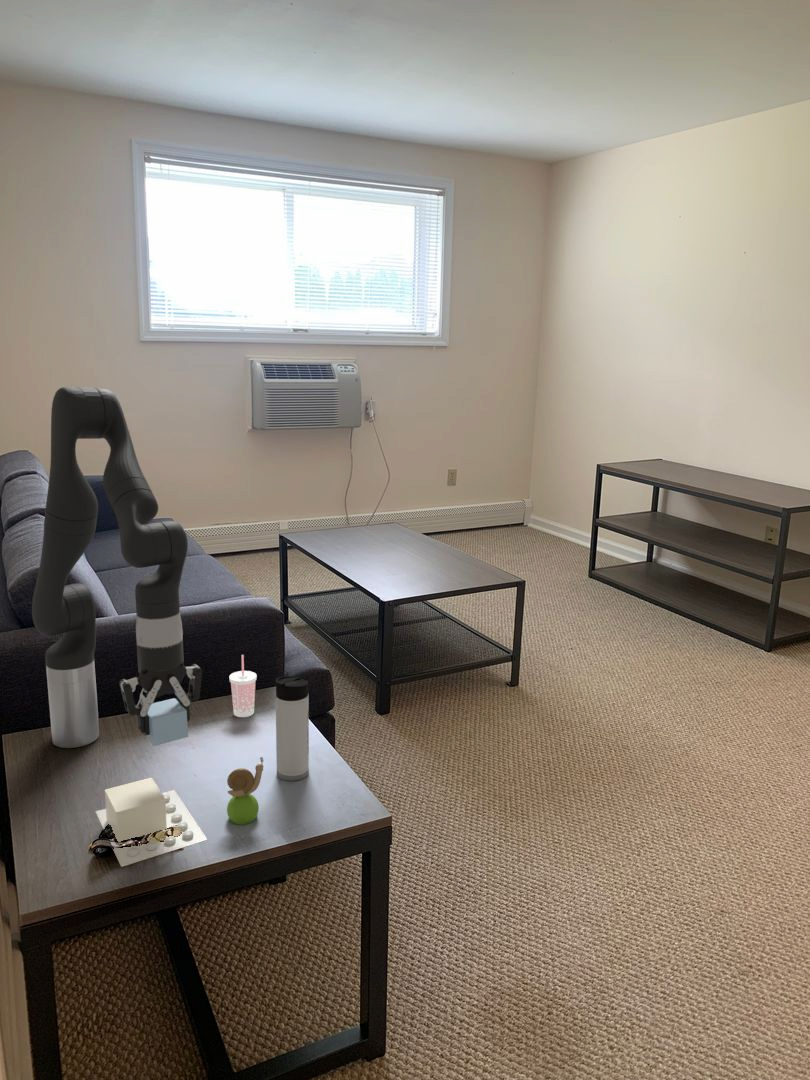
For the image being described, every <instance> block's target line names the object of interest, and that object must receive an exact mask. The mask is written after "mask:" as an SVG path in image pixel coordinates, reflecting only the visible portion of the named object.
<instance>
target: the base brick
mask: <svg viewBox="0 0 810 1080" xmlns="http://www.w3.org/2000/svg"><path fill="white" fill-rule="evenodd" d="M162 793H163V792H162V791H161V790H160V788H159V787H158V785H157V783H156V782H155V780H154V779H153V777H147V778H145V779H140V780H137V781H133V782H128V783H125V784H121V785H117V786H113V787H110V788H106V789H104V799H105V800H104V802H105V803H104V804H105V809H106V818H107V823H108V824H109V825H111V827H112V830H113V833H114V834H115V837H116V839H117V841H118V842H121V841H123V840H127V839H131V838H135V837H140V836H143V835H147V834H150V833H153V832H156V831H159V830H165V829H167V823H166V803H165V797H164V796H163V794H162Z"/></svg>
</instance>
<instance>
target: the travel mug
mask: <svg viewBox="0 0 810 1080" xmlns="http://www.w3.org/2000/svg"><path fill="white" fill-rule="evenodd" d="M309 695H310V693H309V681H308V680H305V679H303V678H301V677H300V676H296V675H285V676H279V677H277V678H276V679H275V741H276V742H275V743H276V744H275V747H276V748H275V749H276V751H275V752H276V753H275V754H276V775H277V777H278V778H279V779H281V780H284V781H287V782H288V781H289V782H294V781H299V780H303V779H305V778H306V777H307V776H308V774H309V771H310V769H309V768H310V766H309V765H310V763H309V762H310V761H309V760H310V759H309V755H310V753H309V751H310V750H309V749H310V746H309V744H310V743H309V741H310V739H309V738H310V737H309V736H310V735H309V733H310V732H309V731H310V730H309V729H310V728H309V727H310V726H309V725H310V724H309V721H310V720H309V717H310V716H309V715H310V711H309V710H310V709H309V706H310V705H309V704H310V703H309V700H310V699H309V698H310V697H309Z"/></svg>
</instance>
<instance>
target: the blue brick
mask: <svg viewBox="0 0 810 1080" xmlns="http://www.w3.org/2000/svg"><path fill="white" fill-rule="evenodd" d="M147 715H148V716H149V729H150V735H147V736H145V737H146V738H147V739H148V741H149V742H150V743H151V744H152V746H153V747H156V746H160V745H163V744H167V743H171V742H174V741H177V740H180V739H186V738H188V737H189V731H188V726H189V725H188V722H187V710H186V709H185V708H184V707H183V706H182V705H181V704H180V701H179V700H178V699H177V698H175V697H174V698H169V699H165V700H162V701H156V702H153V704H152V705H151V706H150V708H149V710H148V713H147Z"/></svg>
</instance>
